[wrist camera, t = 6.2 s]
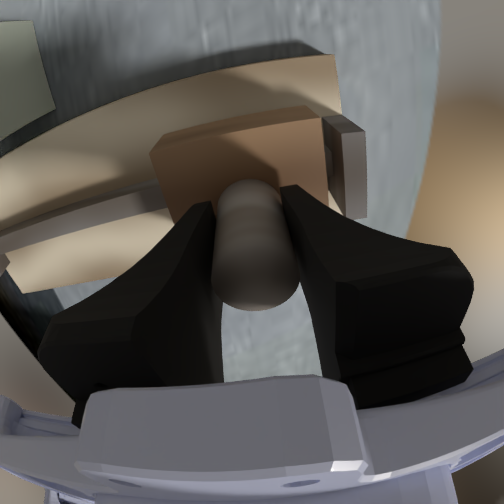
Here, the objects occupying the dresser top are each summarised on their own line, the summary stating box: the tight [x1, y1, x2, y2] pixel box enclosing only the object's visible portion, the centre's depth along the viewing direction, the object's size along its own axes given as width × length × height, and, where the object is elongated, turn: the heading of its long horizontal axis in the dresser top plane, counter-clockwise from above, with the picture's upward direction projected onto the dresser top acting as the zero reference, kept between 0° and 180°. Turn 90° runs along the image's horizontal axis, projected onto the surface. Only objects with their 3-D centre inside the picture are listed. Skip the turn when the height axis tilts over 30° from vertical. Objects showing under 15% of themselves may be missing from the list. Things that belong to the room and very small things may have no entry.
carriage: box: [149, 105, 329, 311], centre depth 11 cm, size 6×6×6 cm
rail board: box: [0, 54, 367, 293], centre depth 15 cm, size 10×24×4 cm, turn 101°
